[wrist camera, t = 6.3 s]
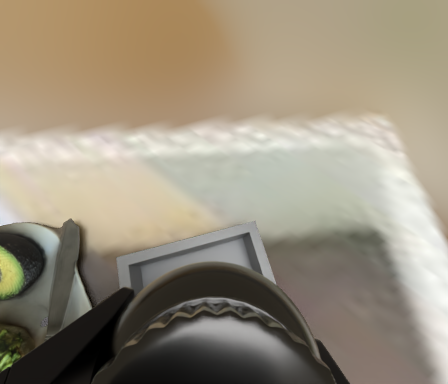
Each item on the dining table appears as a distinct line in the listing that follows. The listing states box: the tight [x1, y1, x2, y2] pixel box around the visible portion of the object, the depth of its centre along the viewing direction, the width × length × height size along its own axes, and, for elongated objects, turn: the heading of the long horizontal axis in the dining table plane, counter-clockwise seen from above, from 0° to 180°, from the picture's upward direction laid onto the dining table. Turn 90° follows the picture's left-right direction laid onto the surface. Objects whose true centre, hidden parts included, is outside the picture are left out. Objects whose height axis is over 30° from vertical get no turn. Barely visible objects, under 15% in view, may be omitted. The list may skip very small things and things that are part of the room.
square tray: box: [116, 221, 276, 297], centre depth 18 cm, size 12×12×4 cm
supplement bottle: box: [90, 261, 336, 384], centre depth 8 cm, size 7×7×12 cm
